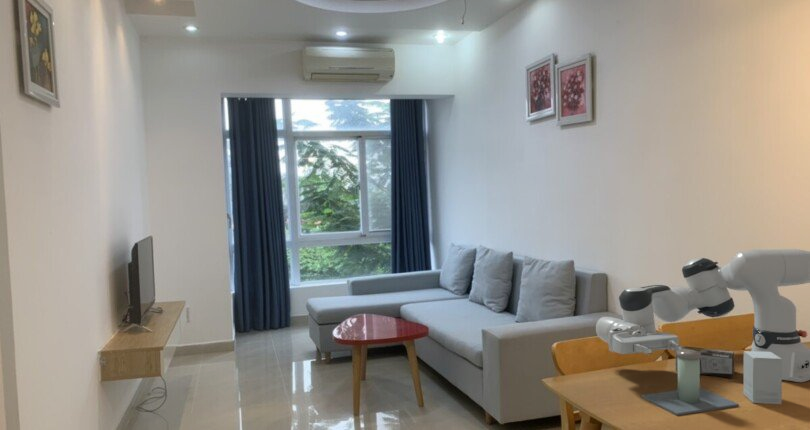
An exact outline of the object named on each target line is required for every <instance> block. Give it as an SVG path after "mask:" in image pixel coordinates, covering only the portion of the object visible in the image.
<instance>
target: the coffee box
mask: <svg viewBox="0 0 810 430" xmlns="http://www.w3.org/2000/svg"><path fill="white" fill-rule="evenodd" d="M680 349H689V350H695V351H698V352H700V353H701V358H700V375H708V376H714V377H721V378H728V379H733V378H734V373H735V352H734V351H730V350H721V349H712V348H704V347H703V348H702V347H695V346H682V345H679V350H680ZM675 371H676V372H678V357H677V350H676V351H675Z"/></svg>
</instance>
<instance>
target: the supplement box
mask: <svg viewBox="0 0 810 430" xmlns="http://www.w3.org/2000/svg"><path fill="white" fill-rule="evenodd" d="M782 383H783V380H782V359H781V358H780V357H778V356H777V355H775V354H774V353H772V352H764V351H751V350H750V351H749V350H743V396H745V397H746V398H747V399H749V401H750V402H751V403H752V404H765V405H782V404H783V402H782V399H783V398H782V395H783V393H782V390H783V388H782V386H783V385H782Z"/></svg>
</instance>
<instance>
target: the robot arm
mask: <svg viewBox="0 0 810 430" xmlns="http://www.w3.org/2000/svg"><path fill="white" fill-rule="evenodd" d="M718 264H719V262H718V261H713V260H712V259H709V258H705V257H701V258H699V257H698V258H693V259H691V260H689V261H688V262H687V263H686V264H685V265H684V266H683V267H682V269H681V272H682V275H683V278H684V279H685V281H686V283H687V285H688V287H687V286H684V285H678V286H674V287H673V286H672V287H669V286H668V285H663V284H654V285H647V286H640V287H638V286H637V287H636V286H635V287H629V288H625V289H623V291H622V292H621V293H620V295H619V296H618V300H619V305H620V308H621V315H622V319H620V318H617V317H613V316H602V317H600V318H599V319H598V320H597V322H596V323H595V324H596V325H595V332H596V335H597V337H598V338H600V340H601V341H604V342H605V343H606V344H608V350H609V352H611V353H616V354H617V353H618V354H620V355H621V354H622V355H629V354H630V355H631V354H638V353H639V354H640V353H642V354H646V355H650V354H652V352H654V351H656V352H657V351H663V350H671V351H673V352H676V351H677V350H679V346H680V339H679V336H678V335H676V334H672V333H669V332H665V331H657V329H656V323H655V317H657V318H658V319H659V320H661V321H663V322H665V323H666V322H667V323H675V322H679V321H680V320H682V319H683V318H686V316H687V315H689V313H691V311H693V310H696V309H697V310H698V311H697V313H698V314H702V315H703V316H706V317H708V318H721V317H724V316H727V315H728V314H729V313H731V311H732V312H733V310H734V308H735V302H734V299H733V297H732V296H731V294H730V292H729V290H733V291H739V292H741V291H743V292H744V291H747V292H748V294H749V295H750V297H751V301H752V303H753V314H754V315H753V316H754V317H753V318H754V319H753V321H754V325H753V327H752V339H753V341H752V343H751V350H750V351H764V352H772V353H774V354H775V355H777V356H778V357H780V358H781V359H782V381H791V382H796V383H805V382H807V381H810V348H809V347H808V346H807V345H806V344H804V343H803V342H802V340H801V337H802V338H805V339H806V338H807V336H808V332H807V330H802V329H799V330H797V307H796V305H795V303H794V302H793V301H792V300H791V299H789V298H787V297H785V296H783V295H781V293H780V292H779V289H778V288H780V287H789V286H798V285H804V284H809V283H810V251H809V250H803V249H797V248H792V249H791V248H789V249H788V248H787V249H786V248H785V249H784V248H783V249H778V248H777V249H749V250H745V251H740V252H736V254H734V256H733V257H732V258H731V261H730V262H728V263H726V264H725V265H723V266H719V265H718ZM728 289H729V290H728Z"/></svg>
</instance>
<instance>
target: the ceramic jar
mask: <svg viewBox="0 0 810 430" xmlns="http://www.w3.org/2000/svg"><path fill="white" fill-rule="evenodd" d="M676 351H677V357H678V371H677V390H678V399H679V400H680V401H683V402H687V403H698V402H699V401H700V387H701V382H700V381H701V380H700V379H701V378H700V377H701V376H700V375H701V374H700V358H701V353H700V352H698V351H695V350H689V349H680V350H676Z"/></svg>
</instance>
